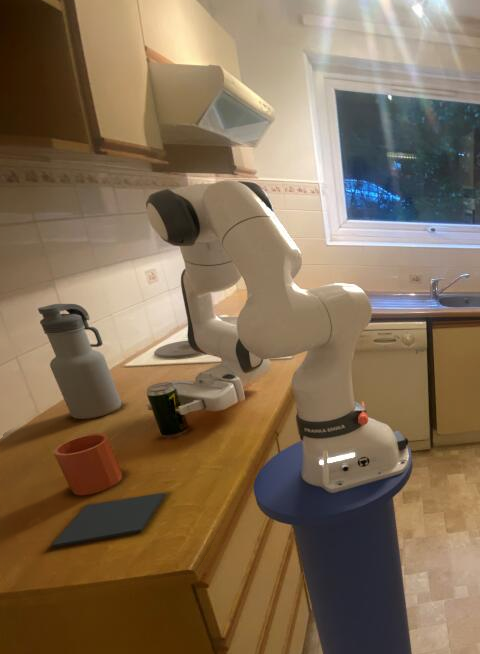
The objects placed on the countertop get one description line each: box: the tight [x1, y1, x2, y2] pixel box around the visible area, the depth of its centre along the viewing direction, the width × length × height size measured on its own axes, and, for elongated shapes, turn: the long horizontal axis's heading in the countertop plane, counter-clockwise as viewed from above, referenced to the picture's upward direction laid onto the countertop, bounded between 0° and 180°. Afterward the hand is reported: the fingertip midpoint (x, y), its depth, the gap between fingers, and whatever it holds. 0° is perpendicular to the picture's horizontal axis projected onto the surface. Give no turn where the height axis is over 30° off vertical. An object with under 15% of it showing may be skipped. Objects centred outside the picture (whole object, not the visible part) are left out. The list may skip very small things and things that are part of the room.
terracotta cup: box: [53, 433, 123, 496], centre depth 83 cm, size 7×7×9 cm
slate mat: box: [51, 492, 166, 549], centre depth 76 cm, size 12×10×1 cm
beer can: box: [146, 381, 189, 438], centre depth 101 cm, size 5×5×12 cm
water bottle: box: [37, 303, 122, 420], centre depth 107 cm, size 10×10×28 cm
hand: (163, 409), depth 100 cm, fingers open, 7 cm apart
